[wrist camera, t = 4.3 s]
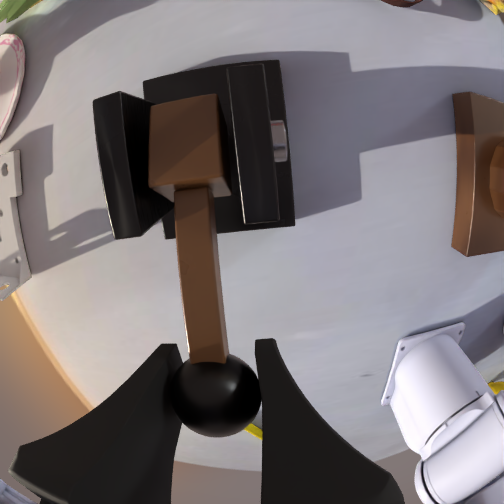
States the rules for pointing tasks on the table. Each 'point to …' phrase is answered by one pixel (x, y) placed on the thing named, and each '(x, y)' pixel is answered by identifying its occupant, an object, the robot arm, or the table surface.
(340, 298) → the table surface
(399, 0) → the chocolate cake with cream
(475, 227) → the button block
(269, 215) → the lever stand
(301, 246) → the table surface
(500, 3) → the burger
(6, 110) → the teacup
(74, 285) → the table surface
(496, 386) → the fruit
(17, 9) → the edible corn
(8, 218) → the bracket
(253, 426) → the pencil
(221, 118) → the lever
